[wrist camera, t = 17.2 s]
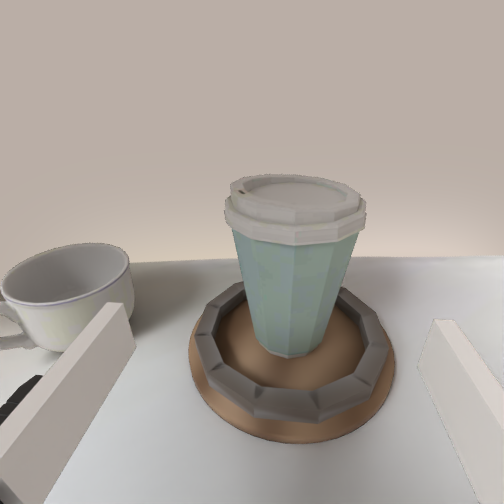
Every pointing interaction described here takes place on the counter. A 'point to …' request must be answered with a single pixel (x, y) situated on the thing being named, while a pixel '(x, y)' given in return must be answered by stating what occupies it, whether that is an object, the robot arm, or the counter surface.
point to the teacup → (63, 293)
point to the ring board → (291, 372)
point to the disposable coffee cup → (293, 254)
